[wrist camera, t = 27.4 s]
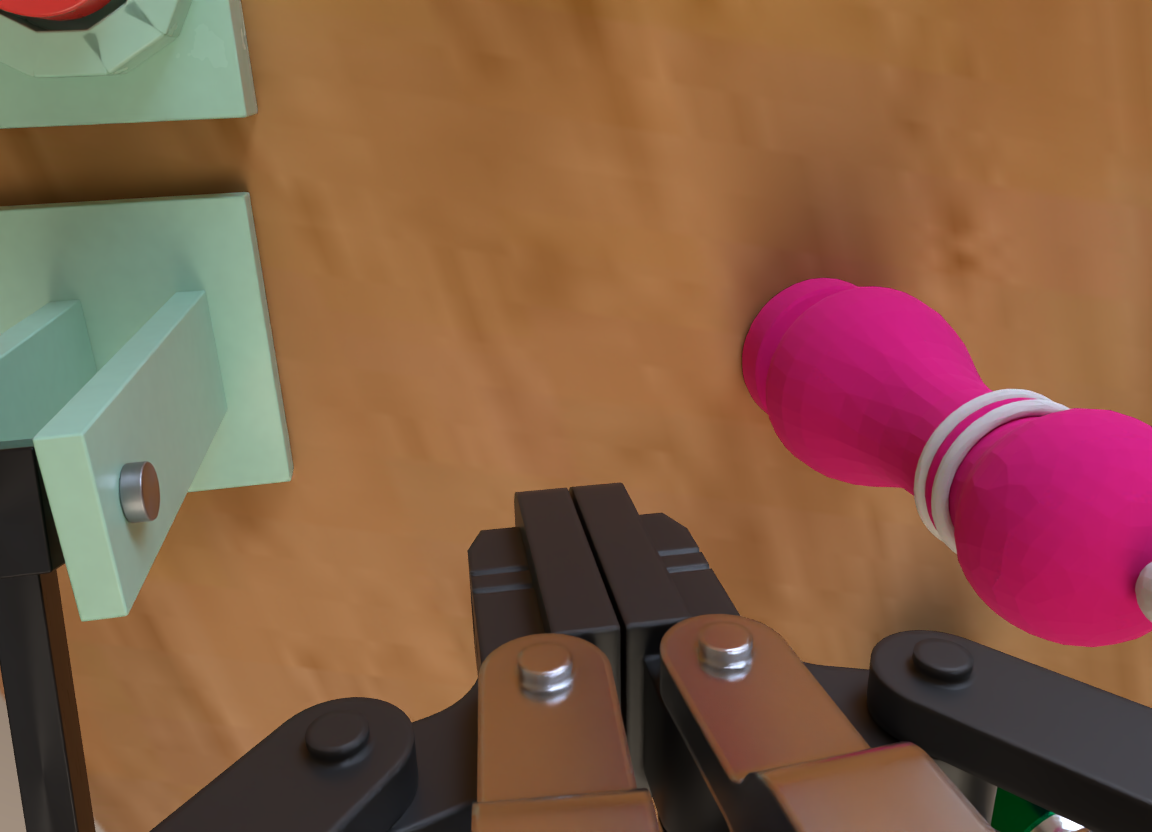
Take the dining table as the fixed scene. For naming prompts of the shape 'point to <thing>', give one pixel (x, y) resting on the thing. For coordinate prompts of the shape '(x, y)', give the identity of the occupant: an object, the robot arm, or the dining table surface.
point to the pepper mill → (965, 456)
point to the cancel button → (53, 8)
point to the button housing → (126, 65)
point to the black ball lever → (38, 652)
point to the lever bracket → (136, 371)
